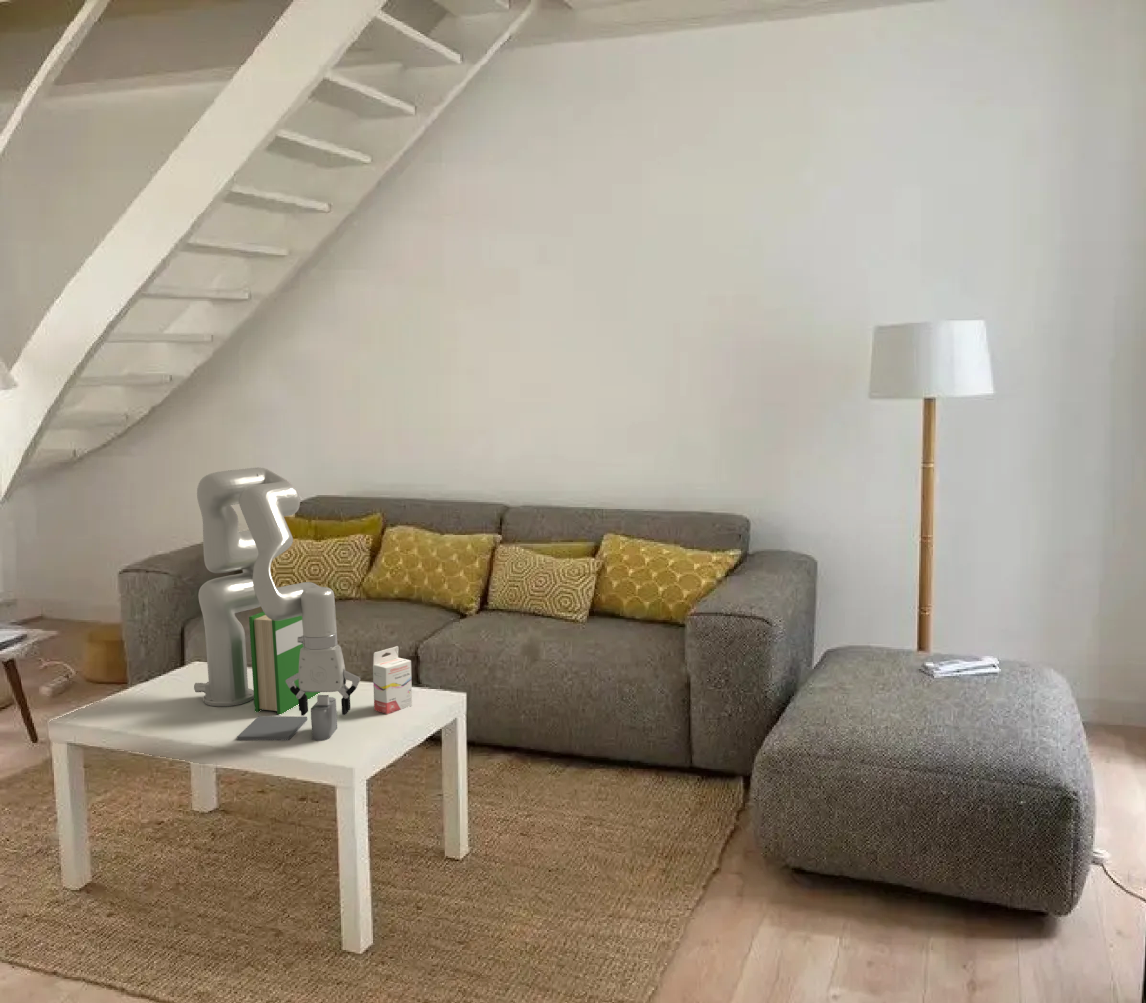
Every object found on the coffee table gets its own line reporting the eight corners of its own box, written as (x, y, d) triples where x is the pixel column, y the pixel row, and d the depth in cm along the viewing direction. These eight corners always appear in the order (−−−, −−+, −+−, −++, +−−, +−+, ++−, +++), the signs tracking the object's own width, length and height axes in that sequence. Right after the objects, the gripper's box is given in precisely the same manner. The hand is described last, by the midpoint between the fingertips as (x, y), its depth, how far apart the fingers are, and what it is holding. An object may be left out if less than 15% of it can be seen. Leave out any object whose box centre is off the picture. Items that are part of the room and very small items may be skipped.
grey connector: (310, 740, 261) (307, 702, 259) (322, 725, 271) (320, 689, 269) (327, 740, 260) (325, 702, 259) (339, 725, 270) (337, 689, 269)
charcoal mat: (237, 739, 262) (237, 736, 262) (258, 719, 276) (258, 716, 276) (288, 740, 261) (288, 737, 261) (307, 719, 275) (307, 716, 275)
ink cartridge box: (387, 715, 277) (384, 656, 275) (373, 711, 281) (371, 652, 278) (413, 705, 284) (411, 648, 282) (400, 701, 287) (397, 645, 285)
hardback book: (280, 714, 279) (274, 619, 275) (254, 712, 281) (248, 617, 278) (320, 693, 295) (315, 602, 292) (295, 690, 298) (290, 600, 294)
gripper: (278, 646, 259) (283, 719, 261) (353, 645, 258) (357, 718, 260) (288, 637, 267) (293, 708, 269) (361, 637, 265) (366, 708, 267)
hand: (325, 713), depth 264 cm, fingers open, 9 cm apart
